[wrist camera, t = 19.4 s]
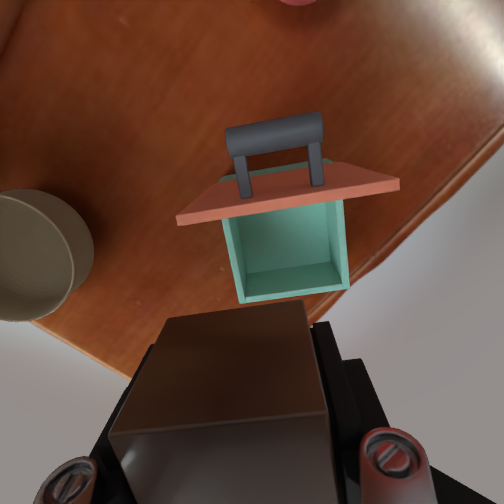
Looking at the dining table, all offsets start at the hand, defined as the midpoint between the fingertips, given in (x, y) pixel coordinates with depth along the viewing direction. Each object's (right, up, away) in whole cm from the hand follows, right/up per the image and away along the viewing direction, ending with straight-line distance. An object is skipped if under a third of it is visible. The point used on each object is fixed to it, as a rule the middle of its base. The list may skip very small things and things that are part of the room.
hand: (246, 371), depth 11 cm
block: (0, 0, 0) cm, 0 cm away
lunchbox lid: (+2, +8, +12) cm, 15 cm away
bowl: (-23, +6, +28) cm, 37 cm away
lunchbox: (+4, +8, +27) cm, 28 cm away
